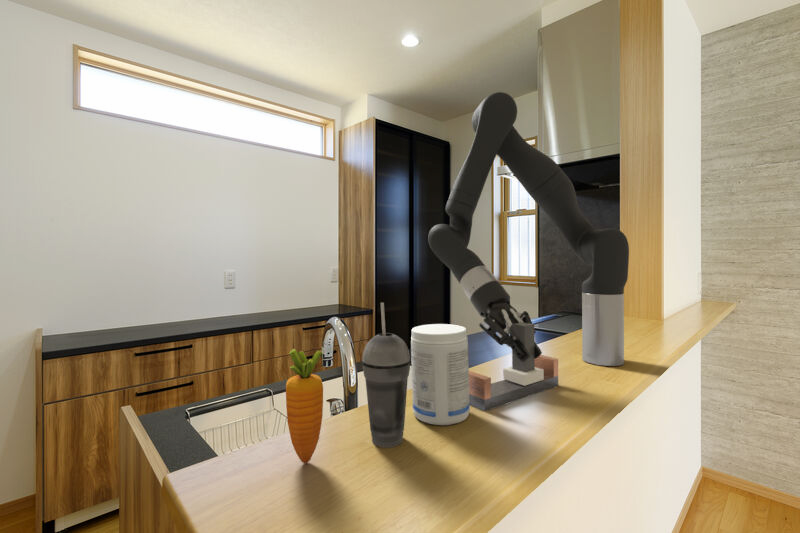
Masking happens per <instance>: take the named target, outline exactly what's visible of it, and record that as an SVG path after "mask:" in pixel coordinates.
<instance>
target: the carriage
mask: <svg viewBox="0 0 800 533" xmlns="http://www.w3.org/2000/svg"><path fill="white" fill-rule="evenodd" d="M512 326H513V331H514V332H515V334H516V335H517V337H518V339H517V340H520V341H521V343H522V344H523V345H524V347H525V348H526V349H527V351H528V352H529V354H530V357H529V358H528V359H527V360H526V361H524V362H521V361H520V359H519V358H518V357H517V356H516V354H515V353H514V352H513V350H512V349H511V350H512V351H511V357H512V358H511V359H512V360H511V362H512V363H511V364H512V365H511V366H510V367H506V368H503V369H502V370H503V374H502V375H503V378H502V380H508V381H511V382H514V383H518V384H521V385H524V386H525V385H528V384H532V383H535V382H538V381H541V380H544V369H540V368H536V367H535V359H534V342H535V334H534V329H535V324H534V323H532V324H529V323H523V322H520V323H515V324H512Z"/></svg>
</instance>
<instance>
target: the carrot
mask: <svg viewBox="0 0 800 533" xmlns="http://www.w3.org/2000/svg"><path fill="white" fill-rule="evenodd" d="M322 355H323V352H322V351H321V350H317V351H316V352H315V353H314V354H313V356H312V358H310V359H309V360H308V359H307V356H306V354H305V352H304V351H303V350H301V351H299V352H298V351H297V349H296V348H293V349H291V350H290V351H289V356H290V358H291V360H292V361H293V364H294V365H291V366H289V368H290V370H291V371H293V372H294V373H295V374H296V375H293V376H291V377H290V378H288V379H287V381H286V383H285V400H286V401H285V403H286V406H285V407H286V416H287V417H286V419H287V425H288V431H289V436H290V440H291V444H292V446H293V448H294V451H295V453H296V455H297V457H298V459H299V460H300V463H301V462H302V463H303V464H304V463H307V464H308V463H309V462H310V461H311V459H312V457H313V455H314V453H315V450H316V449H317V446H318V442H319V439H320V434H321V429H322V423H323V416H324V415H323V412H324V411H323V409H324V408H323V407H324V384H323V381H322V378H321V377H320V375H317V374H313V371H314V369H315V367H316V366H317V363H318V362H319V360H320V358H321V356H322Z"/></svg>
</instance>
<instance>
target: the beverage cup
mask: <svg viewBox="0 0 800 533" xmlns="http://www.w3.org/2000/svg"><path fill="white" fill-rule="evenodd" d="M380 313H381V314H380V315H381V330H382V331H381V332H382V333H381V332H380V333H378V334H376V335H375V336H372V337H371V339H370V340H369V341H368V342H367V343H366V344H365V347H364V349H363V352H362V360H361V361H360V362H361V365H362V372H363V376H364V378H365V380H364V381H365V387H366V388H365V390H366V397H367V398H366V399H367V408H368V409H367V410H368V418H369V419H368V420H369V428H370V429H369V430H370V435H371V442H372V444H373V445H374V446H376V447H380V448H384V449H386V448H394V447H397V446H399V445H401V444H402V443H403V439H404V438H403V437H404V431H405V423H406V422H405V421H406V420H405V418H406V405H407V391H408V380H409V375H410V370H411V364H412V363H411V353H410V351H409V347H408V346H407V344H406V342H405V341H404V340H403V339H402V338H401V337H400V336H399V335H396V334H394V333H391V332H386V318H385V316H386V314H385V302H380Z"/></svg>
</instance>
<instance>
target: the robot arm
mask: <svg viewBox="0 0 800 533" xmlns="http://www.w3.org/2000/svg"><path fill="white" fill-rule="evenodd" d="M517 117H518V106H517V103H516V101H515V99H514V98H513V97H512V96H511V95H510V94H508V93H506V92H503V91H497V92H493V93H490V94H489V95H487V96H486V97H485V98H484V99H482V101H481V102H480V103H479V105H478V106H477V108H476V109H475V110H474V112H473V113H472V117H471V125H472V129H473V131H474V133H475V134H474V138H473V141H472V144H471V146H470V149H469V151H468V154H467V156H466V158H465V160H464V162H463V164H462V167H461V168H460V170H459V173H458V174H457V176H456V177H455V181H454V183H453V186H452V189H451V190H450V194H449V195H448V196H449V197H448V200H447V202H446V204H445V207H444V208H445V209H444V210H445V213H446V214H447V215H448V216H449V218H450V219H449V224H446V223H439V224H435V225H433V227H431V229H430V230H429V232H428V236H427V241H428V242H427V243H428V244H429V248H430V249H431V251H432V252H433V254H434V255H435V256H436V258H438V259H439V260H440V261H441V263H442V264H444V265H445V266H446V267H447V268H448V269H449V270H450V271H451V273H452V274H453V276H454V277H455V279H456V280H457V282H458V283H459V285H460V287H461V288H462V290H463V292H464V294H465V295H466V297H467V298H468V300H469V301H470V302H471V304H472V306H473V307H474V309H475V310H476V312H477V313H478V314H479V316H480V317H481V318H483V319H482V320H481V322H479V324H478V325H479V328H481V330H482V331H484V332H485V333H486V334H487V335H488V336H489V337H491V339H493V340H494V341H495V342H496V343H498V344H499V345H500V346H503V345H506V346H507V347H509V348H511V350H513V352H514V353H515V354H516V356H517V357H518V358H519V359H520V361H521V362H524V361H526V360H527V359H528V358H529V357H530V354H529V352H528V351H527V349H526V348H525V347H524V345H523V344H522V343H521V341H520V340H517V339H518V337H517V335H516V334H515V332H514V331H513V326H512V324H515V323H520V322H523V323H529V324H533V322H532V320H531V316H530V315H529V312H527V311H526V310H525V311H523V312H519V311H517V309H516V308H515V307H513V305H511V296H510V294H509V293H508V292H507V290H506V289H505V288H504V286H503V285H502V284H501V283H500V281H499V280H498V279H497V278H496V276H495V274H494V273H493V272H491V270H490V269H489V268H487V266H486V265H485V263H484V262H483V261H482V259H481V258H479V256H478V255H477V253H476V252H474V251H472V250H471V249H469V248H468V246H469V244H470V240H471V235H472V228H473V227H472V226H473V217H474V214H475V211H476V210H477V206H478V203H479V201H480V198H481V196H482V192H483V190H484V187H485V184H486V181H487V179H488V177H489V174H490V172H491V168H492V166H493V163H494V162H495V159H496V157H497V156H498V157H499V158H500V160H502V162H503V163H504V164H505V165H506V167H507V168H508V169H509V171H510V172H511V173H512V174H513V176H514V177H515V178H516V179H517V181H518V182H519V183H520V184H521V186H522V188H524V190H525V191H526V192H527V193H528V194H529V195H530V197H531V198H532V199H533V201H534V202H535V203H536V204H537V205H538V206H539V207H540V208H541V210H543V212H544V214H546V215H547V217H548V218H549V219H550V220H551V222H552V223H553V224H554V225H555V226H556V228H557V229H558V230H559V232H561V234H562V236H563V237H564V238H565V240H566V242H567V243H568V244H569V246H570V248H571V249H572V251H573V252H574V255H576V256H577V257H578V259H579V260H580V261H581V262H582V263H584V264H585V265H588V266H592V268H591V274H590V276H589V277H588V278H586V280H584V281H583V282H582V285H581V305H582V306H581V310H582V311H581V314H582V317H581V320H582V321H581V324H582V327H581V328H582V329H581V332H582V333H581V335H582V336H581V337H582V338H581V339H582V340H581V343H582V344H581V345H582V346H581V348H582V349H581V353H582V354H581V356H582V358H581V359H582V361H584V362H586V363H588V364H591V365H596V366H597V365H598V366H604V367H605V366H606V367H608V366H609V367H615V366H616V367H617V366H623V365H624V364H625V295H624V293H625V292H624V291H625V286H626V285H627V281H628V278H629V262H630V260H629V258H630V248H629V246H630V244H629V242H628V238H627V236H626V235H625V233H623V232H622V231H621V230H620V229H617V228H609V227H607V228H601V229H597V228H595V227H594V226H593V224H591V223H590V222H589V220H588V219H587V218H586V217H585V216H584V214H583V213H582V211H581V209H580V207H579V202H578V198H577V193H576V190H575V187H574V185H573V182H572V180H571V179H570V178H569V177H568V176H567V174H566V173H565V172H564V170H562V168H561V167H560V165H558V163H556V161H555V160H553V159H552V158H550V156H548V155H546V154H545V153H543V152H542V151H540V150H539V149H537V148H536V147H534V146H532V145H531V144H530V143H529V142H527V141H526V140H525V139H524V138H523V137H522V136H521V134H520V133H519V132H518V130H517V129H516V128H515V126H514V125H515V122H516V120H517ZM536 333H537V332H536V329H535V328H534V335H535V334H536ZM542 354H543V351H542V350H541V348H540V347H539V346H538V344H537V343H536V341H534V359H536V358H538V357H539V356H540V355H542Z"/></svg>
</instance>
